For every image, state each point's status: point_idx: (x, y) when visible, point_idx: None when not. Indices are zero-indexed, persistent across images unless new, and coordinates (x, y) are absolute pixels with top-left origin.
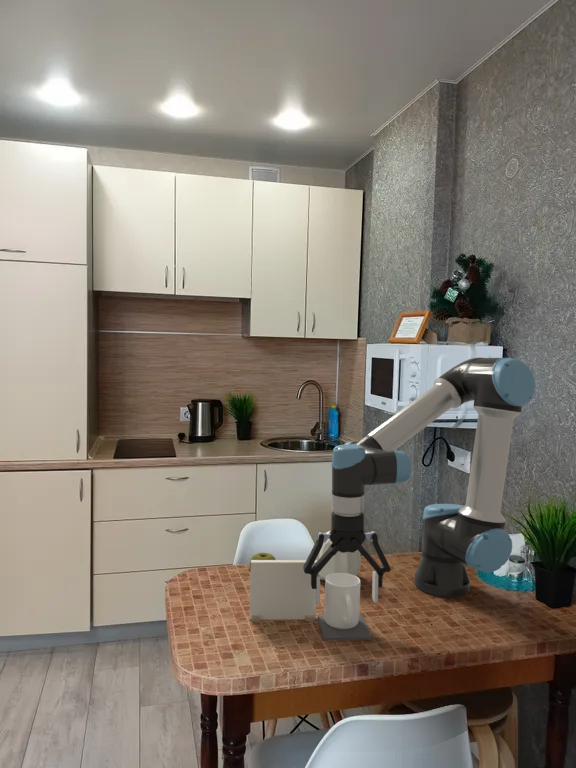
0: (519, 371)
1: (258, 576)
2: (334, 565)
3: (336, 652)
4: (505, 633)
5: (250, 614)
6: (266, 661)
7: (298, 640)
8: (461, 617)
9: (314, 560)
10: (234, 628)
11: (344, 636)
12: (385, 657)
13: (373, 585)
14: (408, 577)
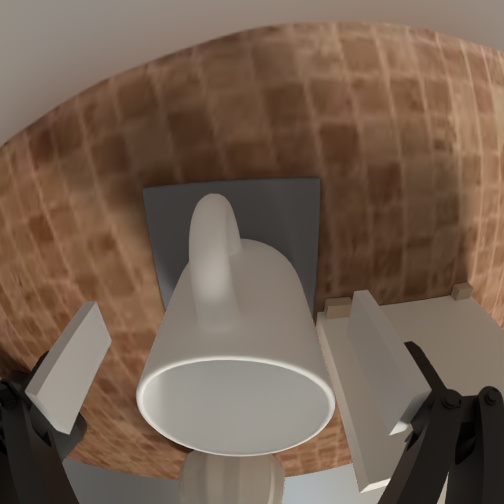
0: None
1: None
2: (239, 475)
3: (282, 95)
4: None
5: (472, 299)
6: (469, 86)
7: (395, 181)
8: None
9: (486, 471)
10: (498, 251)
11: (241, 188)
12: (119, 81)
13: (79, 370)
14: (100, 436)
